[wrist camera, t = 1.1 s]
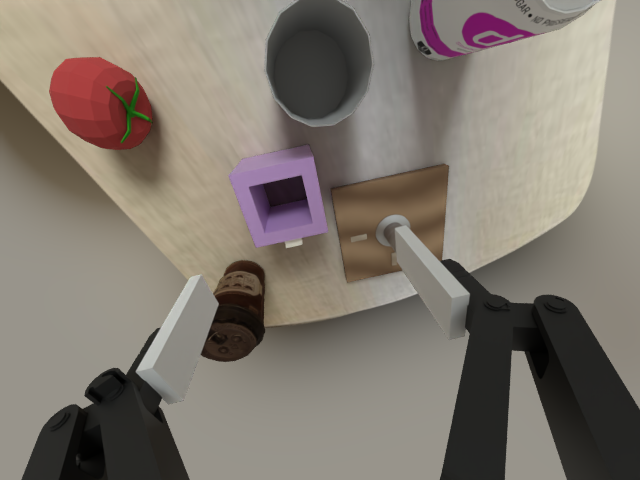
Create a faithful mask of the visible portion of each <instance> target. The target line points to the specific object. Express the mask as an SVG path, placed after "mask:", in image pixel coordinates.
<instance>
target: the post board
mask: <svg viewBox="0 0 640 480" xmlns="http://www.w3.org/2000/svg"><path fill="white" fill-rule="evenodd" d="M448 172H449V166H448V165H446V164H441V165H436V166H432V167H427V168H423V169H418V170H414V171H409V172H404V173H400V174H395V175H391V176H386V177H382V178H377V179H372V180H368V181H363V182H359V183H354V184H349V185H345V186H340V187H336V188H331V194H332V200H333V206H334V211H335V217H336V223H337V229H338V234H339V240H340V246H341V251H342V257H343V263H344V269H345V274H346V279H347V282H351V281H356V280H360V279H365V278H370V277H374V276H379V275H384V274H388V273H393V272H397V271H402V268H401V267H400V265H399V264H398V262H397V255H396V241H395V228H397V227H401V226H405V225H406V226H407V227H408V228H409V229H410V230H411V231H412V232H413V233H414V234H415V235H416V236H417V238H418V239H419V240H420V241H421V242H422V243H423V244H424V245H425V246H426V247H427V248H428V249H429V250H430V252H431V253H432V254H433V255H434V256H435V257H436V258H437V259H438V260H439V261H442V253H443V240H444V226H445V213H446V199H447V186H448Z"/></svg>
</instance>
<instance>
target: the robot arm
mask: <svg viewBox="0 0 640 480" xmlns="http://www.w3.org/2000/svg"><path fill="white" fill-rule="evenodd" d="M395 241H396V255H397V262H398V264H399V265H400V267H401V268H402V270H403V271H404V273H405V275H406V276H407V278H408V279H409V281H410V282H411V284H412V285H413V287H414V288H415V290H416V291H417V293H418V294H419V296H420V297H421V299H422V300H423V302H424V303H425V305H426V306H427V308H428V309H429V311H430V312H431V314H432V315H433V317H434V318H435V320H436V321H437V323H438V324H439V326H440V327H441V329H442V330H443V332H444V334H445V335H446V336H447V338H448V339H449V340H451V339H455V338H459V337H464V336H465V330H466V329H467V330H468V332H469V333H470V335H469V340H468V346H467V350H466V355H465V360H464V365H463V370H462V375H461V380H460V385H459V390H458V395H457V399H456V404H455V410H454V415H453V419H452V425H451V429H450V434H449V439H448V444H447V449H446V454H445V459H444V464H443V469H442V474H441V477H440V480H505V462H506V444H507V426H508V408H509V390H510V371H511V354H512V350H514V351H524V352H525V354H526V357H527V361H528V364H529V366H530V370H531V373H532V376H533V378H534V382H535V385H536V388H537V391H538V394H539V397H540V400H541V403H542V406H543V409H544V412H545V415H546V418H547V420H548V424H549V427H550V430H551V433H552V436H553V439H554V442H555V445H556V448H557V451H558V454H559V457H560V460H561V463H562V466H563V469H564V472H565V475H566V478H567V480H640V409H639V408H638V406H637V404H636V403H635V401H634V399H633V398H632V396H631V395H630V393H629V391H628V390H627V388H626V386H625V385H624V383H623V382H622V380H621V378H620V377H619V375H618V374H617V372H616V370H615V369H614V367H613V365H612V364H611V362H610V360H609V359H608V357H607V355H606V354H605V352H604V351H603V349H602V347H601V346H600V344H599V342H598V341H597V339H596V338H595V336H594V334H593V333H592V331H591V329H590V328H589V326H588V324H587V323H586V321H585V320H584V318H583V316H582V315H581V313H580V311H579V310H578V308H577V307H576V306H575V305H574V304H573V303H571V302H570V301H568V300H567V299H564V298H561V297H558V296H554V295H541V296H538V297H536V299H535V300H534V303H533V304H528V303H525V304H524V303H510V302H509V301H508V300H507V299H505V298H503V297H501V296H498V295H493V294H490V293H489V292H488V291H487V290H486V289H485V288H484V287H483V286H482V285H481V284H480V283H479V282H478V281H477V280H476V279H474V277H473V276H471V275H470V274H469V273H468V272H467V271H466V270H465V269H464V268H463V267H462V266H461V265H460V264H459V263H457V262H455V261H453V260H451V259H447V260H442V261H439V260H438V259H437V258H436V257H435V256H434V255H433V254H432V253H431V252H430V250H429V249H428V248H427V247H426V246H425V245H424V244H423V243H422V242H421V241H420V240H419V239H418V238H417V236H416V235H415V234H414V233H413V232H412V231H411V230H410V229H409V228H408V227H407V226H406V225H405V226H401V227H397V228H395ZM218 305H219V303H218V302H217V300H216V298H215V296H214V295H213V293H212V291H211V290H210V288H209V286H208V284H207V283H206V281H205V279H204V278H203V276H202V274H200V275H196V276H192V277H190V279H189V280H188V282H187V284H186V285H185V287H184V289H183V291H182V292H181V294H180V296H179V298H178V299H177V301H176V303H175V305H174V306H173V308H172V310H171V311H170V313H169V315H168V316H167V318H166V320H165V322H164V323H163V325H162V327H161V328H157V329H156V330H155V331H154V332H153V333H152V334H151V335H150V336H149V338H148V340H147V341H146V343H145V345H144V347H143V348H142V350H141V351H140V354H139V355H138V356H137V358H136V359H135V361H134V363H133V364H132V366H131V368H130V369H129V371H128V373H127V374H126V375H125V374H124V373H123V372H121V370H120V369H118V368H112V369H109V370H107V371H105V372H103V373H102V374H100V375H99V376H98V377H96V378H95V379H94V380H93V381H92V382H91V383H90V384H89V386H88V387H87V389H86V391H85V397H87V398H88V399H89V400H90V401H92V402H93V403H94V404H91V405H90V406H88V407H86V408H84V409H82V408H80V407H79V406H78V405H76V404H75V405H74V404H73V405H69V406H67V407H65V408H63V409H62V410H60V411H59V412H57V413H56V414H55V415H54V416H52V417H51V418H50V419H49V420H48V422H47V423H46V424H45V425H44V426H43V428H42V430H41V432H40V434H39V436H38V439H37V441H36V444H35V447H34V449H33V452H32V454H31V457H30V459H29V462H28V464H27V467H26V470H25V472H24V475H23V477H22V480H190V479H189V477H188V474H187V472H186V469H185V467H184V464H183V461H182V459H181V456H180V454H179V451H178V449H177V446H176V444H175V442H174V439H173V436H172V434H171V431H170V429H169V426H168V424H167V421H166V419H165V416H164V413H163V411H162V410H161V408H160V407H159V404H160V402H161V399H162V398H163V400H164V401H166V402H167V403H168V404H172V403H177V402H181V401H184V399H185V396H186V393H187V390H188V388H189V385H190V382H191V379H192V376H193V374H194V371H195V368H196V365H197V363H198V359H199V357H200V354H201V352H202V349H203V346H204V343H205V341H206V338H207V335H208V332H209V330H210V327H211V324H212V321H213V318H214V316H215V313H216V310H217V307H218Z"/></svg>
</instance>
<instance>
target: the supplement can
mask: <svg viewBox="0 0 640 480" xmlns="http://www.w3.org/2000/svg"><path fill="white" fill-rule="evenodd" d="M599 1H601V0H412V1H411V8H410V16H409V24H410V31H411V37H412V39H413V41H414V43H415V45H416V47H417V49H418V50H419V51H420V52H421V53H422V54H423V55H424V56H425V57H427V58H429V59H433V60H437V61H441V60H446V59H450V58H454V57H458V56H462V55H466V54H469V53H473V52H477V51H480V50H484V49H488V48H492V47H495V46H499V45H503V44H506V43H510V42H514V41H518V40H521V39H525V38H529V37H532V36H536V35H540V34H544V33H547V32H551V31H555V30H558V29H561V28H563V27H564V26H566V25H568V24H569V23H571V22H572V21H574V20H576V19H577V18H579V17H581V16H582V15H584V14H585V13H586V12H587V11H588V10H589V9H590V8H591V7H592V6H594V5H595V4H596V3H597V2H599Z"/></svg>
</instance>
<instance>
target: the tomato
mask: <svg viewBox="0 0 640 480" xmlns="http://www.w3.org/2000/svg"><path fill="white" fill-rule="evenodd" d="M49 93H50V96H51V100H52V104H53V107H54V109H55V111H56V113H57V114H58V115H59V117H60V118H61V120H62V121H63V122H64V124H65V125H66V126H67V128H68V129H69V131H71V132H72V133H74V134H75V135H77V136H78V137H80V138H82V139H83V140H85V141H87V142H89V143H91V144H93V145H96V146H98V147H100V148H105V149H114V150H122V149H131V148H133V147H135V146H137V145H139V144H141V143H142V141H143V140H144V139H145V137H146V136H147V134H148V133H149V131H150V128H151V123H152V124H153V122H152V111H151V105H150V103H149V100H148V98H147V95H146V93H145V91H144V89H143V87H142V86H141V85H140V84H139V82H138V81H137V79H136V77H135V78H134V76H133V75H132V74H131V73H129V72H127V71H125V70H123V69H122V68H120V67H118V66H116V65H114V64H112V63H110V62H108V61H106V60H104V59H102V58H100V57H87V58H72V59H66V60H65V61H64V62H63V63H62V64H61V65H60V66H59V67H58V68H57V69H56V70H55V71H54V73H53V76H52V79H51V84H50V90H49Z"/></svg>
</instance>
